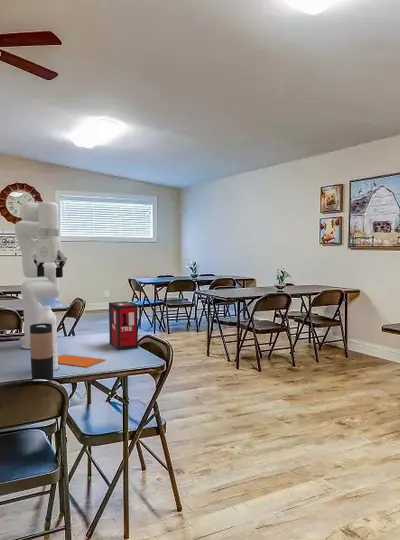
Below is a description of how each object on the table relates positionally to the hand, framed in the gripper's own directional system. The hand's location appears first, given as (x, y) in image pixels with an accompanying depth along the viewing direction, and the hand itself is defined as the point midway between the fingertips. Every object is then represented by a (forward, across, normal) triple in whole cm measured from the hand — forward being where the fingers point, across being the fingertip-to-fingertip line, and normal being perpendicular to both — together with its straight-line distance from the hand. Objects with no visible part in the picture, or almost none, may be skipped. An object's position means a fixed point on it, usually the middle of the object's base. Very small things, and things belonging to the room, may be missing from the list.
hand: (49, 276), depth 185 cm
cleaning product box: (+36, +5, +42) cm, 55 cm away
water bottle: (+36, +4, -4) cm, 36 cm away
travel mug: (+36, +12, -17) cm, 41 cm away
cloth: (+36, +3, +9) cm, 37 cm away
